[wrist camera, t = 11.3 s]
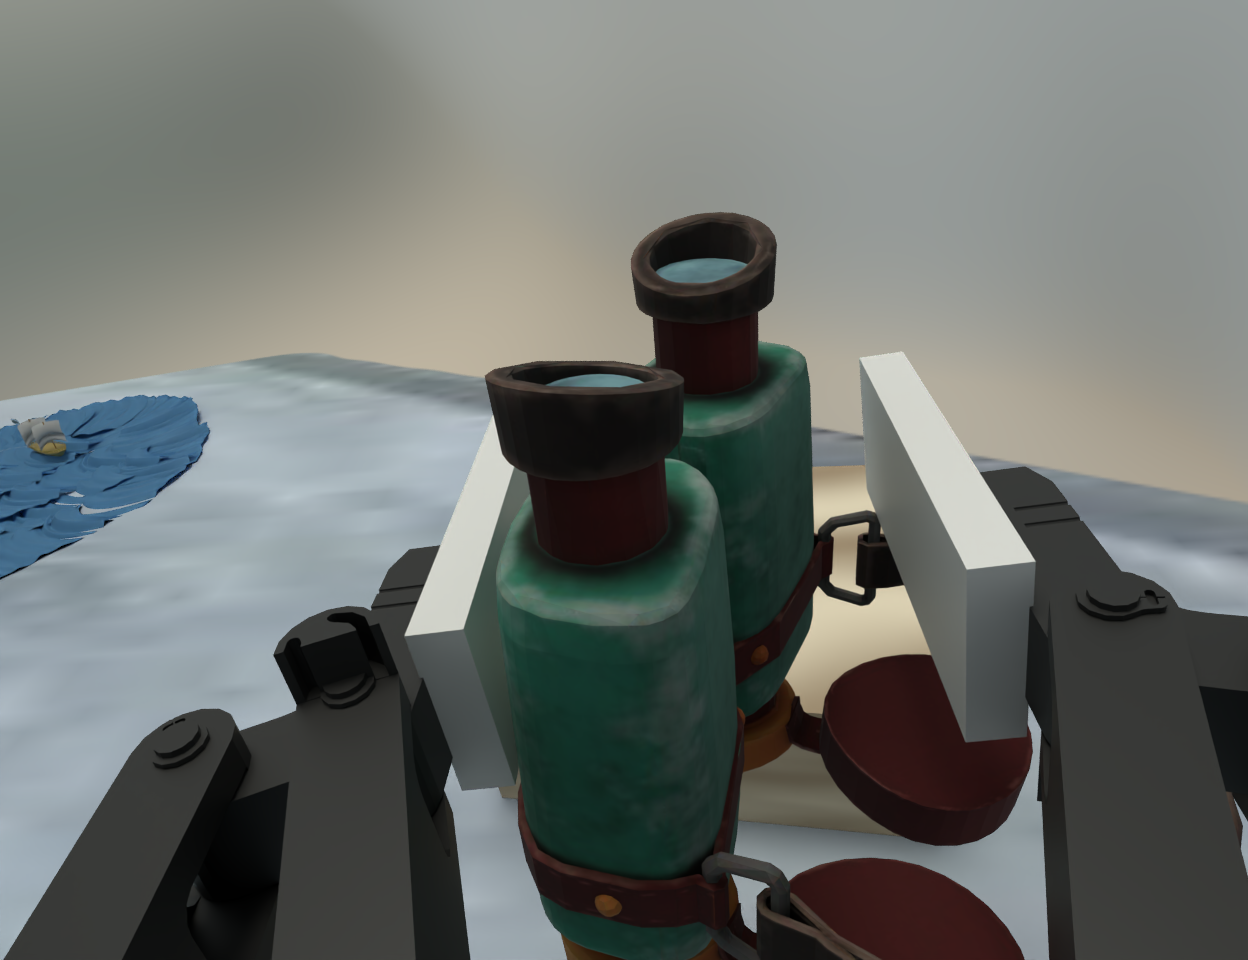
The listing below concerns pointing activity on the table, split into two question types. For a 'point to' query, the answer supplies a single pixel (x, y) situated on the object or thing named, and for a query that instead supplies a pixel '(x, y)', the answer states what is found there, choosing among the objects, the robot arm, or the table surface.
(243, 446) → the table surface
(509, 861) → the table surface
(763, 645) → the binoculars
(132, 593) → the table surface
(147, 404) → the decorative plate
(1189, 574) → the table surface
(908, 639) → the birch block
